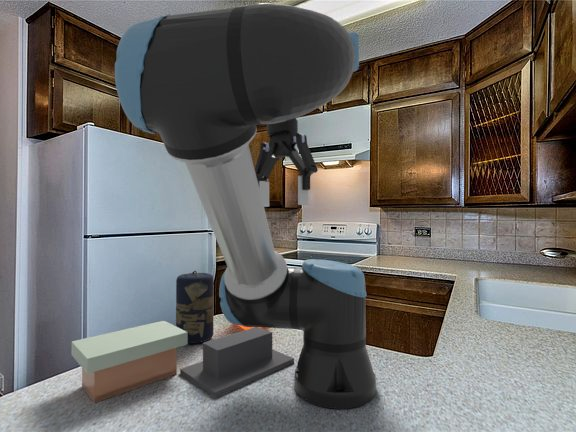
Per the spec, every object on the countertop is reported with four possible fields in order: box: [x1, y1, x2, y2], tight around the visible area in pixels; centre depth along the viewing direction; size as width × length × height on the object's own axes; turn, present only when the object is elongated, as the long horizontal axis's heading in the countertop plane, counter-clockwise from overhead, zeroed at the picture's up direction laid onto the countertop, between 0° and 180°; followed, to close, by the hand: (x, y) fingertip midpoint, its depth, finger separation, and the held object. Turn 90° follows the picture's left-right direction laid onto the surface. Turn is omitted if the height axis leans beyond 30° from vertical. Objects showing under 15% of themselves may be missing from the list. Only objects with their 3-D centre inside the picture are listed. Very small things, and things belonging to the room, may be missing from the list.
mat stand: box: [179, 327, 295, 399], centre depth 70 cm, size 13×20×6 cm, turn 135°
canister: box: [175, 270, 215, 344], centre depth 87 cm, size 10×10×18 cm
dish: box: [81, 347, 178, 404], centre depth 65 cm, size 8×15×6 cm, turn 135°
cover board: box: [71, 320, 189, 374], centre depth 65 cm, size 11×18×2 cm, turn 135°
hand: (282, 205), depth 81 cm, fingers open, 13 cm apart
